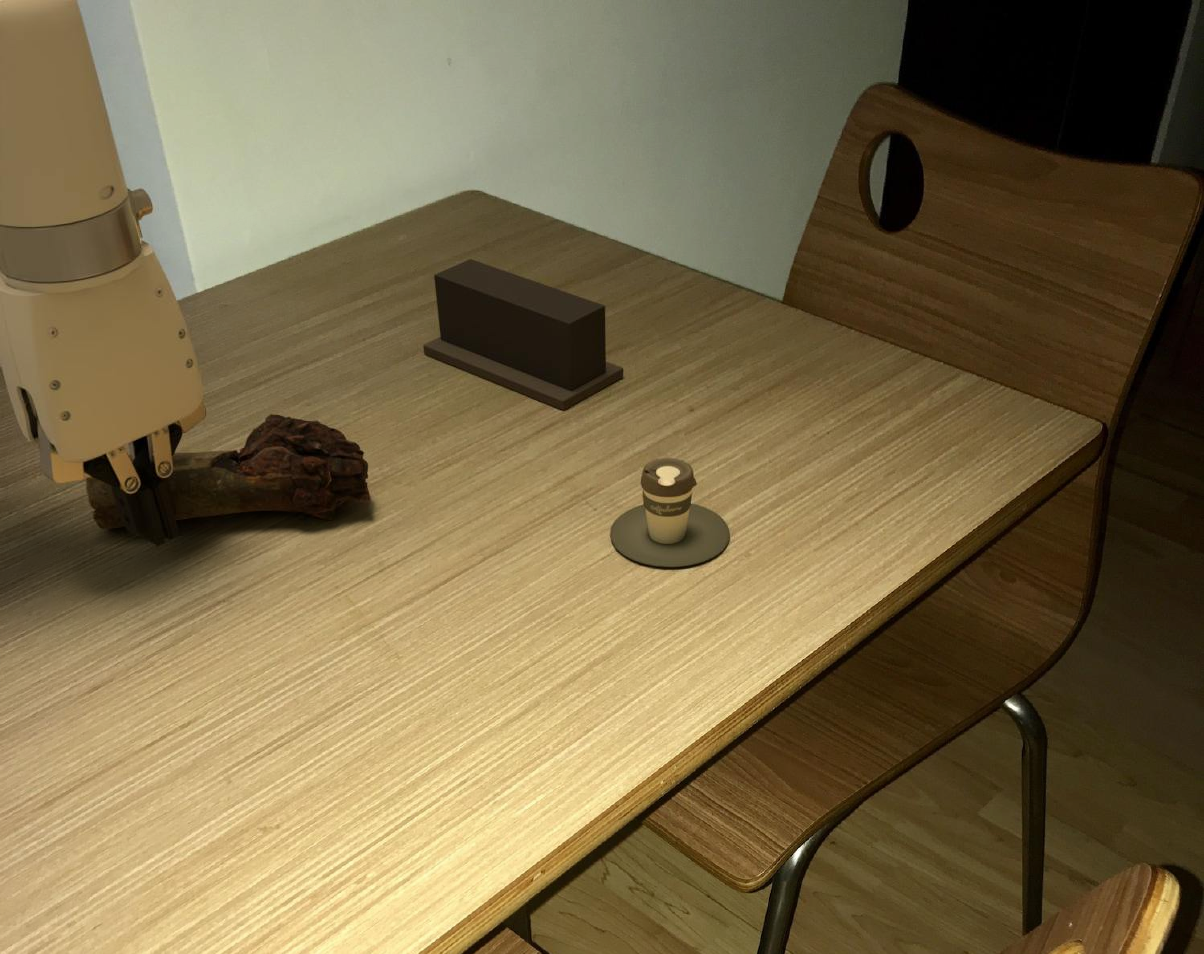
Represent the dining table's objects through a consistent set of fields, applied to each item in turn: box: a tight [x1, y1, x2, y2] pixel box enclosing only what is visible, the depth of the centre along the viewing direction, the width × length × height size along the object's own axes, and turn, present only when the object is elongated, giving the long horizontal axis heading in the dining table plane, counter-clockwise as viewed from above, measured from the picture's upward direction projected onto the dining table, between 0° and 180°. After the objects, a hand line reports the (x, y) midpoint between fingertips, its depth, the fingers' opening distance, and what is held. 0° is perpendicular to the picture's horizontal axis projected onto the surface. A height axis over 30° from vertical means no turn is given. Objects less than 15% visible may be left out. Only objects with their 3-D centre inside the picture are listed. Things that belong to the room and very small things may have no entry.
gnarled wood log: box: [85, 413, 372, 530], centre depth 85 cm, size 18×7×6 cm, turn 94°
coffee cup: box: [609, 457, 731, 569], centre depth 82 cm, size 12×12×5 cm
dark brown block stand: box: [422, 258, 624, 411], centre depth 99 cm, size 15×7×6 cm, turn 49°
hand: (155, 533), depth 82 cm, fingers closed
